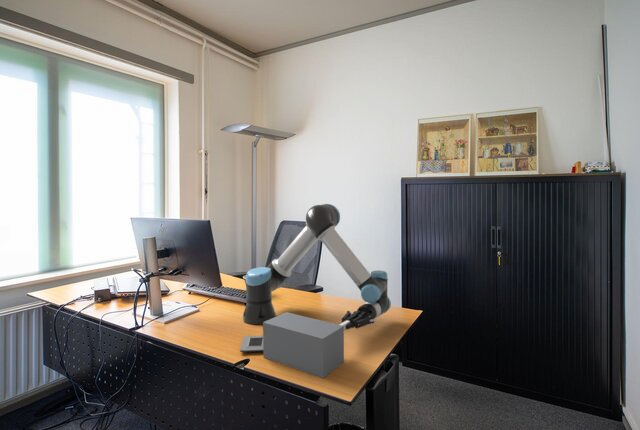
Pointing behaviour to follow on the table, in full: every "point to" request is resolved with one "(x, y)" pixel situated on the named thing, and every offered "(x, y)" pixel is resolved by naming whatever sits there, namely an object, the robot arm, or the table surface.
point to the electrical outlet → (252, 344)
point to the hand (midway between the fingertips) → (339, 329)
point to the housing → (304, 343)
